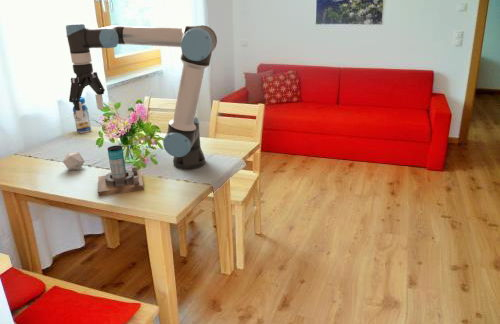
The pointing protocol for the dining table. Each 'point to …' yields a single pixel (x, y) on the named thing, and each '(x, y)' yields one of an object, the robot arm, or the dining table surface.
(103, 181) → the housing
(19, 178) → the dining table surface
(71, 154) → the die
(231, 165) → the dining table surface
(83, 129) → the beverage bottle
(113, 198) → the dining table surface
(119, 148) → the beverage can
